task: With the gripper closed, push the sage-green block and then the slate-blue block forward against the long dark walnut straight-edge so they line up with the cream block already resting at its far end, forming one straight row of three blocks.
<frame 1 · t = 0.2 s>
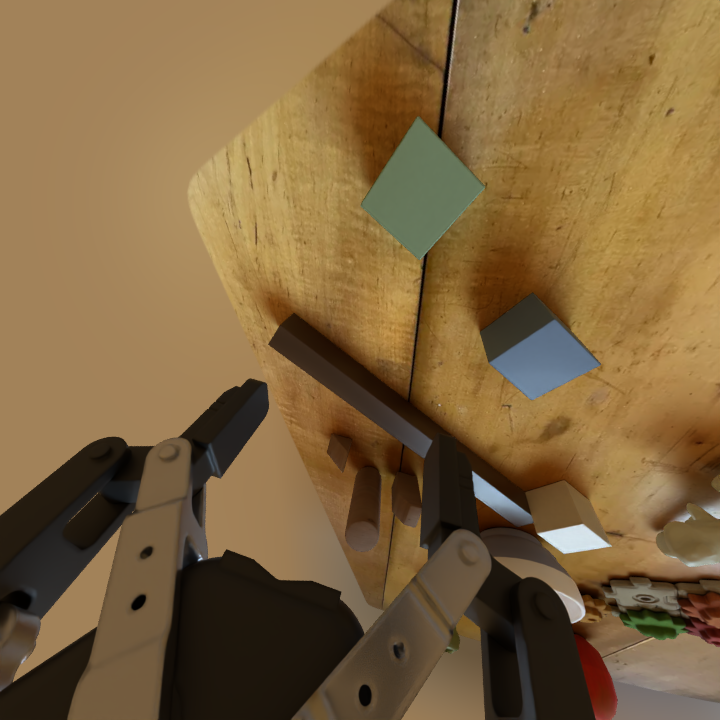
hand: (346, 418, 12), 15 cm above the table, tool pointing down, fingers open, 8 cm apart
cream block: (556, 496, 33), on the table
straightedge: (417, 421, 32), on the table
gear puzzle: (667, 599, 40), on the table
bone: (712, 496, 28), on the table
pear: (444, 584, 56), on the table
wooden block set: (389, 466, 38), on the table
blue block: (523, 331, 23), on the table
apple: (568, 634, 55), on the table
green block: (422, 193, 19), on the table
bowl: (507, 539, 41), on the table
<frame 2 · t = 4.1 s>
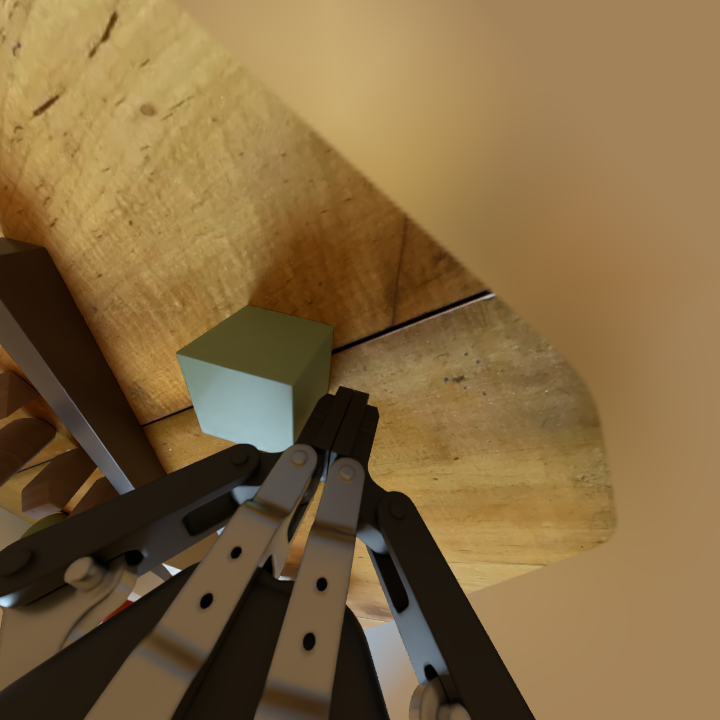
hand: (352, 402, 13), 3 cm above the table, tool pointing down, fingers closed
cream block: (210, 534, 38), on the table
straightedge: (137, 441, 27), on the table
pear: (69, 514, 52), on the table
wooden block set: (75, 436, 30), on the table
blue block: (274, 473, 24), on the table
apple: (154, 572, 66), on the table
green block: (290, 352, 16), on the table, touching gripper
bowl: (153, 527, 43), on the table
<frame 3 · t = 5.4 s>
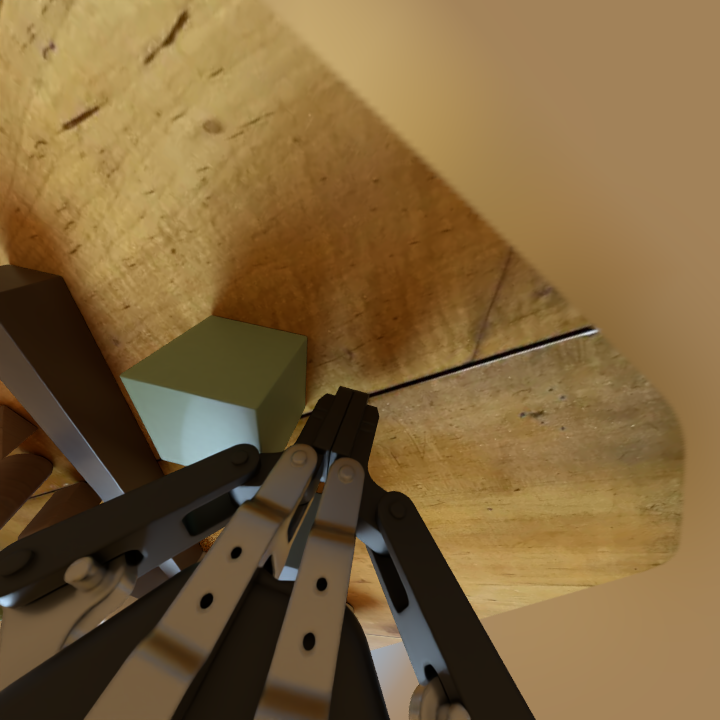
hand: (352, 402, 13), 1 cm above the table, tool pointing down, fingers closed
cream block: (224, 562, 36), on the table
straightedge: (151, 475, 24), on the table
wooden block set: (75, 470, 27), on the table
blue block: (307, 505, 22), on the table
green block: (262, 365, 14), on the table, touching gripper
bowl: (158, 556, 40), on the table
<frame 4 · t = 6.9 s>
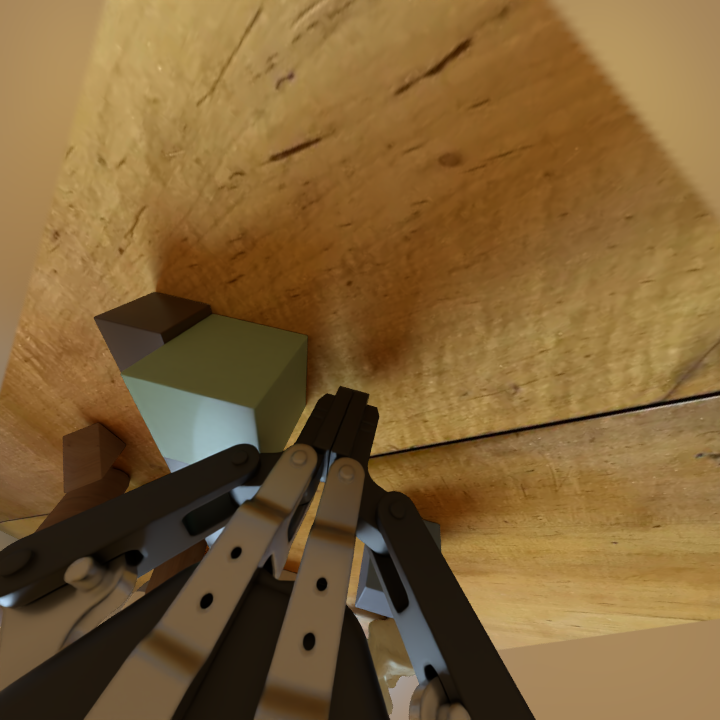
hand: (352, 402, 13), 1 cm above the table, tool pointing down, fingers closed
straightedge: (234, 492, 24), on the table
bone: (360, 612, 39), on the table
wooden block set: (150, 484, 27), on the table
blue block: (400, 528, 22), on the table
green block: (263, 363, 14), on the table, touching gripper, straightedge
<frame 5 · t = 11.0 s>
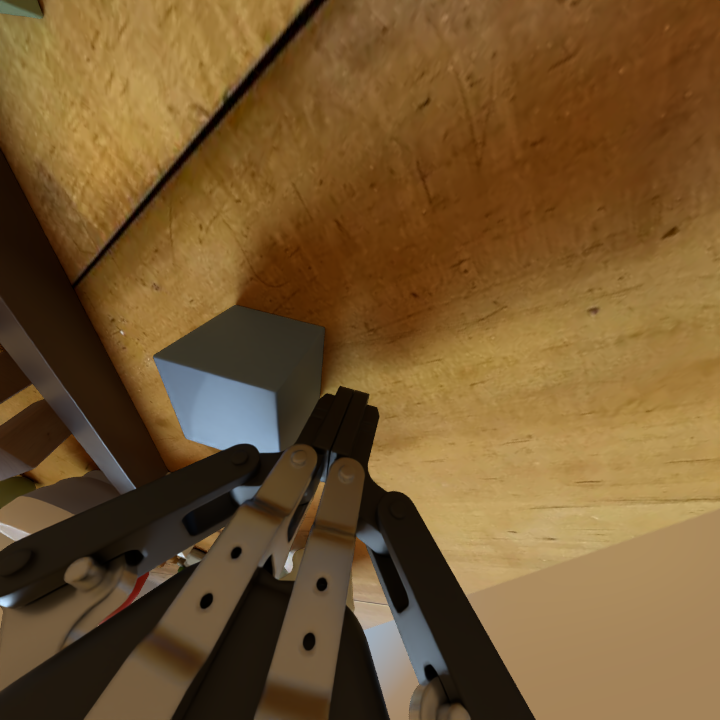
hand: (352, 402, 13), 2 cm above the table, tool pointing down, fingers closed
straightedge: (74, 322, 18), on the table
gear puzzle: (223, 570, 47), on the table
bone: (295, 548, 32), on the table
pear: (31, 478, 43), on the table
blue block: (280, 354, 15), on the table, touching gripper
apple: (138, 554, 58), on the table
bowl: (126, 487, 34), on the table
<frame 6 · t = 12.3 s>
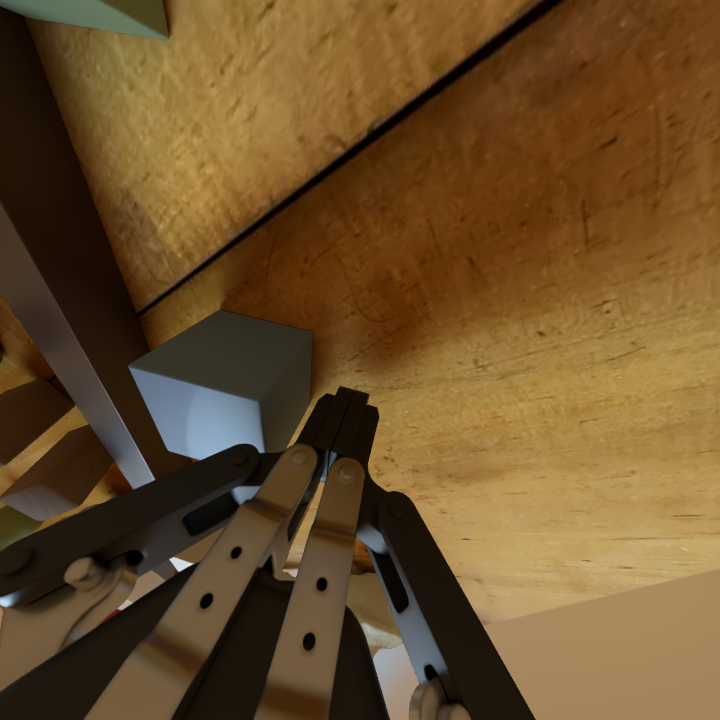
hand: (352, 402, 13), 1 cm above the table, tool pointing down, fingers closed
cream block: (231, 516, 28), on the table
straightedge: (130, 351, 16), on the table
bone: (332, 571, 31), on the table
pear: (41, 501, 41), on the table
wooden block set: (33, 361, 20), on the table
blue block: (268, 360, 14), on the table, touching gripper
bowl: (151, 511, 33), on the table
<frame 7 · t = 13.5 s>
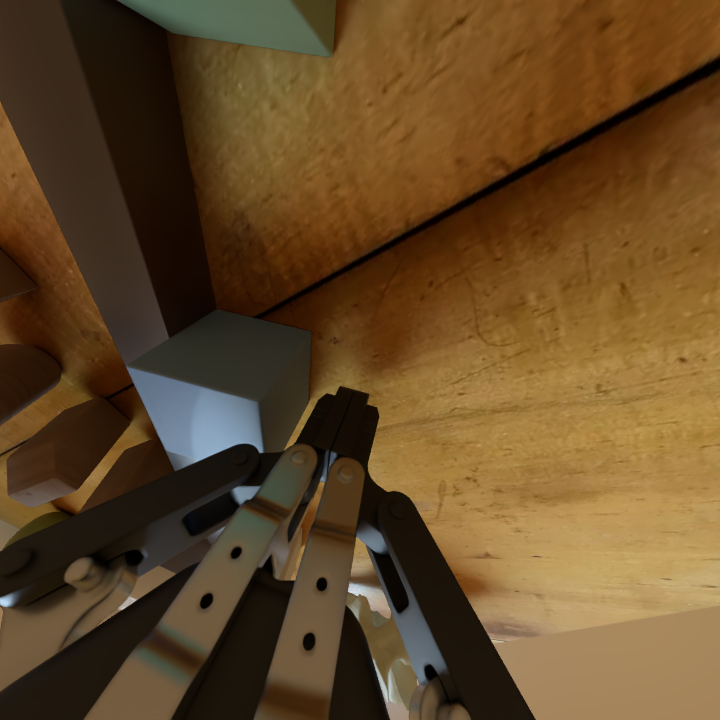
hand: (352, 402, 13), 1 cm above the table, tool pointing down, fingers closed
cream block: (279, 530, 27), on the table
straightedge: (206, 371, 16), on the table
bone: (377, 583, 30), on the table
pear: (69, 513, 40), on the table
wooden block set: (92, 379, 19), on the table
blue block: (266, 359, 14), on the table, touching gripper, straightedge
bowl: (189, 524, 32), on the table
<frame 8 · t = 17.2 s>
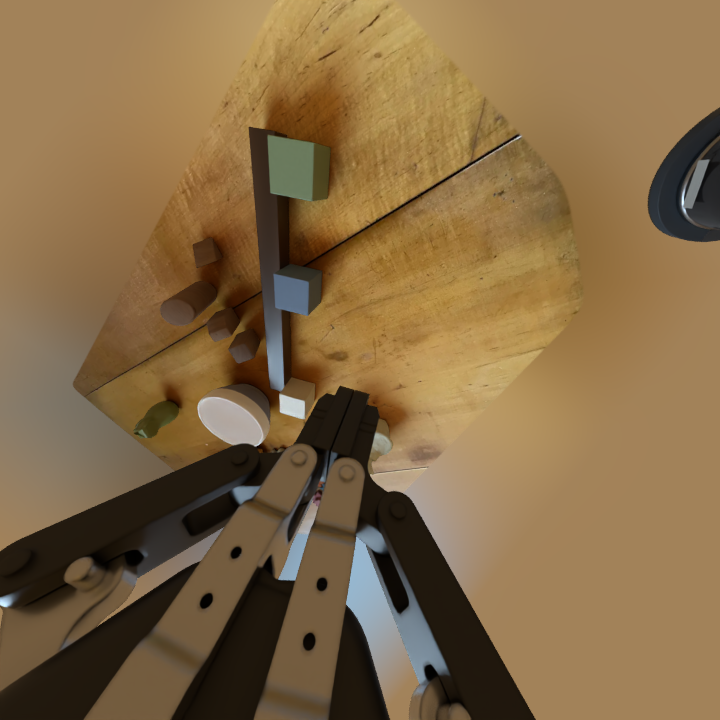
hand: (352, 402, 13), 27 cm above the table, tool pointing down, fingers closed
cream block: (303, 389, 53), on the table
straightedge: (281, 290, 41), on the table
bone: (354, 428, 56), on the table
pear: (174, 404, 67), on the table
wooden block set: (228, 299, 45), on the table
blue block: (306, 283, 40), on the table
green block: (309, 170, 31), on the table
bowl: (252, 397, 58), on the table
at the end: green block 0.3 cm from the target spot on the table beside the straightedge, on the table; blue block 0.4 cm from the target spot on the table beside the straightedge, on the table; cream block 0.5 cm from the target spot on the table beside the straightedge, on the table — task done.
